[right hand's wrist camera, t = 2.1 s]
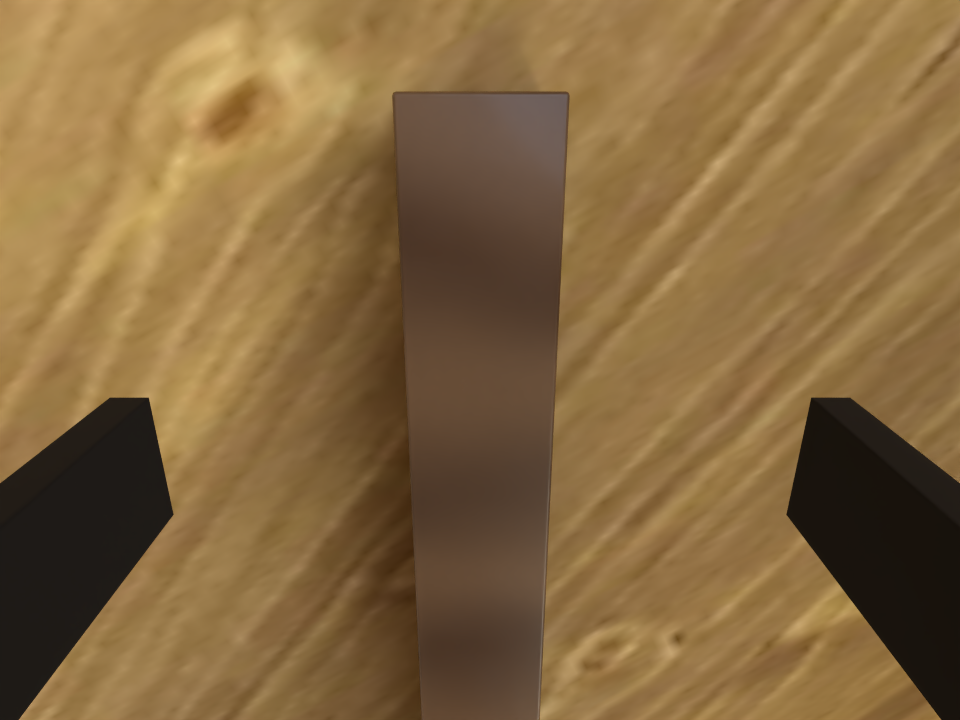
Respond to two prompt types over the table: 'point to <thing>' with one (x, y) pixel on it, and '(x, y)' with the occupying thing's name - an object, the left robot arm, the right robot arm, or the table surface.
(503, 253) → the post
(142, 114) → the table surface
